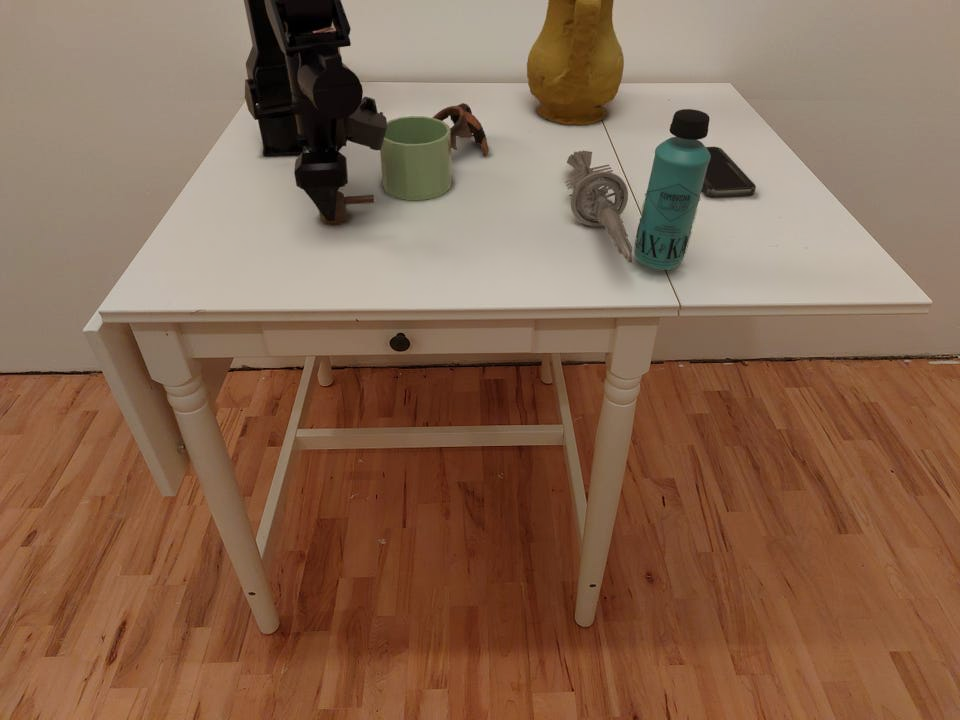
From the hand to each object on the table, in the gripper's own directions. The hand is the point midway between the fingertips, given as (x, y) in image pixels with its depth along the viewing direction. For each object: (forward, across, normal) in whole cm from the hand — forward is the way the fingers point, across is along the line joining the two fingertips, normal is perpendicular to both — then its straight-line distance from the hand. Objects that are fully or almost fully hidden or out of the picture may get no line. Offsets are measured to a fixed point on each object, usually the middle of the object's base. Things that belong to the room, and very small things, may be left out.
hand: (331, 204), depth 93 cm
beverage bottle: (+2, -18, -42) cm, 45 cm away
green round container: (+2, +9, -12) cm, 16 cm away
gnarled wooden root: (+2, +20, -20) cm, 29 cm away
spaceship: (+2, -6, -36) cm, 37 cm away
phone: (+2, +6, -60) cm, 60 cm away
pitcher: (+2, +34, -42) cm, 54 cm away
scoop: (+2, 0, -2) cm, 3 cm away
